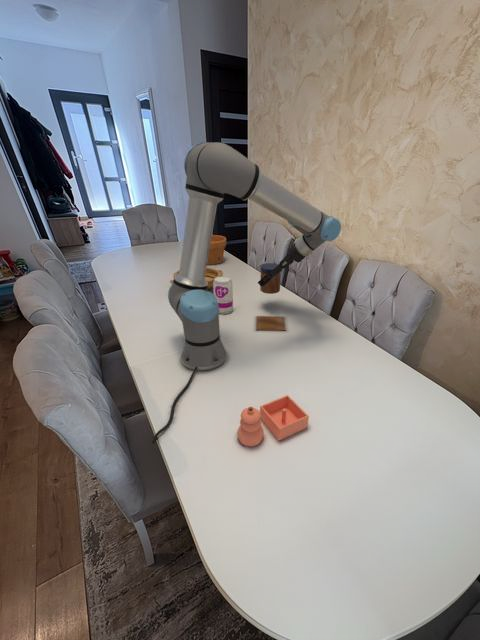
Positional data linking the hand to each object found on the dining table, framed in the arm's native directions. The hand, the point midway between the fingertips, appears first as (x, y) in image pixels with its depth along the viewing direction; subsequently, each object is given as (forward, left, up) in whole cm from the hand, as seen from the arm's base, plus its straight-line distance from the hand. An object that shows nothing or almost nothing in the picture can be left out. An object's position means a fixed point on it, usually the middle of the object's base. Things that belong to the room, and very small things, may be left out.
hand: (263, 281), depth 139 cm
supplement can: (-6, +18, -12) cm, 23 cm away
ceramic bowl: (+20, +34, -12) cm, 41 cm away
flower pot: (+68, +34, -12) cm, 77 cm away
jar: (-1, -3, -4) cm, 5 cm away
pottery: (-77, -1, -12) cm, 79 cm away
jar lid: (-1, -3, +7) cm, 8 cm away
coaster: (-18, -3, -12) cm, 22 cm away
